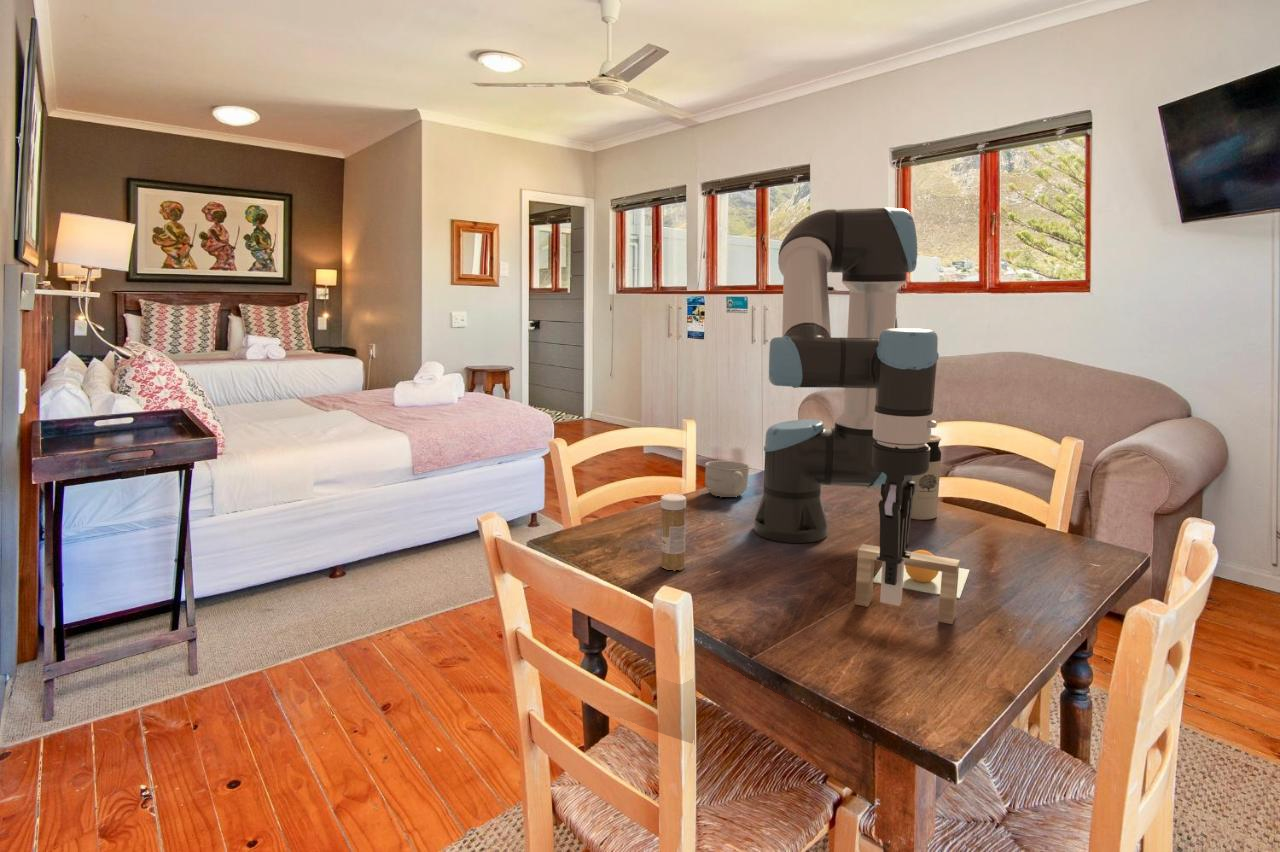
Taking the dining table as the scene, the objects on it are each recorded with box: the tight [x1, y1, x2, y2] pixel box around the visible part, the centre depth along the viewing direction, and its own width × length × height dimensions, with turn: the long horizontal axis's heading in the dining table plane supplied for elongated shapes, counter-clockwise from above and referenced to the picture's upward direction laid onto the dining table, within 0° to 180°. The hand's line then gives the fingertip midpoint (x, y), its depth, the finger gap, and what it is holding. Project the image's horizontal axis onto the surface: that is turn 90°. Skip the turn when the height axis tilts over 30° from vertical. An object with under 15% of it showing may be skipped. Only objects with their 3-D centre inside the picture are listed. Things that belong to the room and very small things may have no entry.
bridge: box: [854, 543, 960, 625], centre depth 113 cm, size 3×14×9 cm, turn 59°
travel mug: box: [911, 434, 942, 521], centre depth 161 cm, size 8×8×18 cm
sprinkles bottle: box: [660, 493, 687, 572], centre depth 131 cm, size 5×5×13 cm
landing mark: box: [873, 565, 971, 600], centre depth 127 cm, size 14×14×1 cm
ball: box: [905, 549, 939, 582], centre depth 125 cm, size 6×6×6 cm
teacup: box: [704, 460, 750, 498], centre depth 177 cm, size 14×11×8 cm
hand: (890, 601), depth 104 cm, fingers closed
